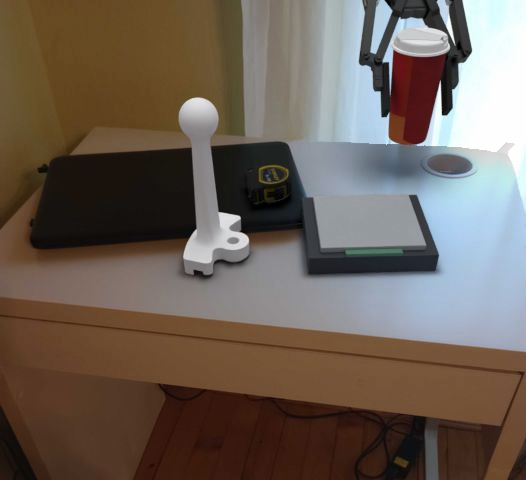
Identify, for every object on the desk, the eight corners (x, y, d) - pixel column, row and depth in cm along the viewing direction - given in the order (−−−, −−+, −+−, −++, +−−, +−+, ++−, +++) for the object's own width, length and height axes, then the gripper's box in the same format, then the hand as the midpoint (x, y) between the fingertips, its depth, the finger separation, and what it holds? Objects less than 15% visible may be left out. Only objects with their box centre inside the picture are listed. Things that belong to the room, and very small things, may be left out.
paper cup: (439, 130, 94) (457, 29, 84) (426, 152, 89) (444, 49, 79) (388, 121, 97) (400, 22, 87) (373, 143, 92) (384, 41, 82)
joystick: (211, 224, 87) (198, 77, 73) (262, 234, 85) (260, 85, 71) (177, 271, 80) (155, 118, 66) (232, 283, 78) (222, 128, 64)
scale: (414, 209, 89) (417, 189, 87) (435, 270, 79) (440, 249, 77) (300, 212, 89) (301, 192, 87) (308, 273, 79) (309, 252, 77)
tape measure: (243, 186, 94) (242, 163, 91) (288, 182, 95) (288, 159, 92) (248, 211, 89) (247, 187, 87) (296, 206, 90) (297, 183, 87)
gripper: (339, -69, 83) (345, 104, 83) (495, -73, 83) (501, 99, 83) (333, -34, 91) (338, 124, 91) (476, -38, 91) (481, 120, 91)
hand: (416, 112), depth 87 cm, fingers closed on paper cup, 8 cm apart
